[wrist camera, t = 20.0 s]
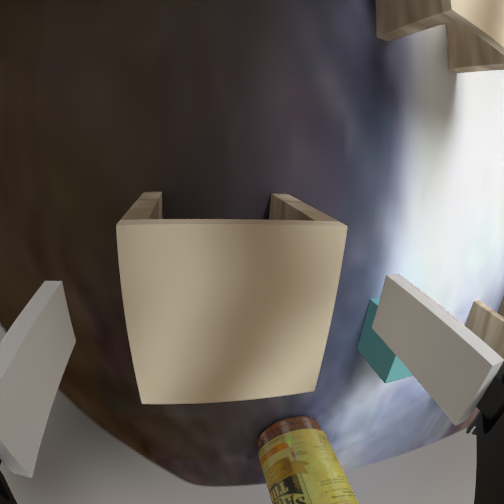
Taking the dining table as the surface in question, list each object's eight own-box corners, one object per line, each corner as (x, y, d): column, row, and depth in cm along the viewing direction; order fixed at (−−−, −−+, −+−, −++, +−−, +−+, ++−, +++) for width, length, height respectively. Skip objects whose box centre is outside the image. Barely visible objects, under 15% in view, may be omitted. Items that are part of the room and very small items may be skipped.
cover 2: (376, 37, 15) (452, 9, 9) (371, -46, 12) (428, -85, 6) (456, 73, 17) (527, 69, 10) (449, -6, 14) (508, -23, 8)
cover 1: (151, 321, 18) (141, 403, 12) (143, 191, 16) (116, 225, 9) (275, 317, 20) (314, 390, 14) (287, 194, 18) (347, 226, 11)
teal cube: (356, 348, 23) (385, 383, 19) (369, 298, 21) (404, 330, 17) (399, 340, 24) (429, 369, 20) (413, 293, 22) (449, 320, 18)
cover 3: (448, 364, 28) (486, 402, 21) (473, 301, 25) (521, 335, 18) (485, 350, 29) (520, 379, 23) (507, 293, 27) (549, 320, 20)
